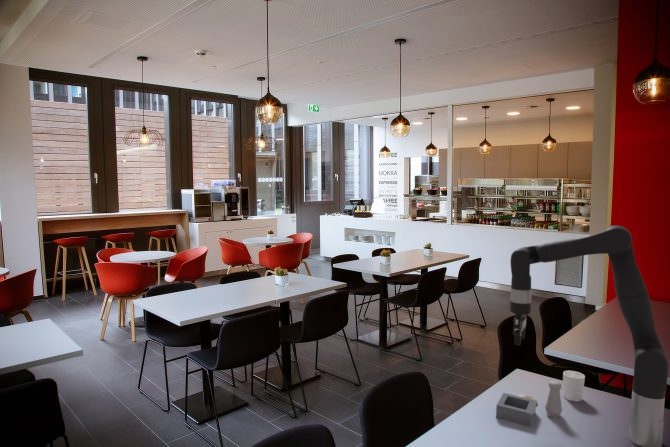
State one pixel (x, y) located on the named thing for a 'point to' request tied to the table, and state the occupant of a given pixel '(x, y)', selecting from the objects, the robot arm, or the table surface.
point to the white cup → (573, 385)
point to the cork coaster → (527, 397)
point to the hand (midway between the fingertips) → (519, 341)
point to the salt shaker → (554, 400)
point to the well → (516, 409)
